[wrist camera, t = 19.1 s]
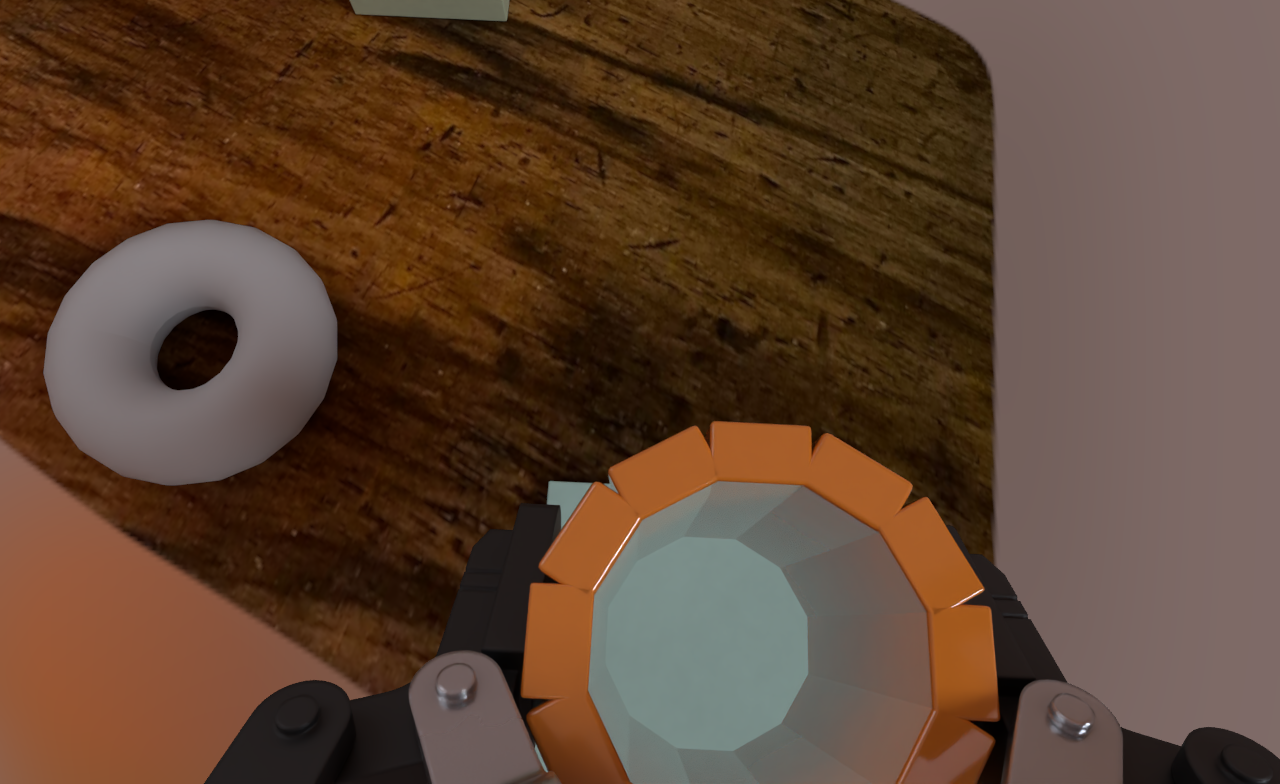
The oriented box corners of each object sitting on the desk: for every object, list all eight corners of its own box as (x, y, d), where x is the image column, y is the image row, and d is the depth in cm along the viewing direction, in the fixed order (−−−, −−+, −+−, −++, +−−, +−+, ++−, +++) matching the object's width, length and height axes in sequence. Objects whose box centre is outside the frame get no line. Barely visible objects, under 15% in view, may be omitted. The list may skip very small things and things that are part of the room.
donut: (373, 452, 28) (329, 219, 31) (340, 432, 25) (293, 172, 28) (98, 524, 28) (76, 278, 30) (26, 513, 24) (8, 238, 27)
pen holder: (842, 507, 18) (978, 432, 11) (850, 802, 17) (1020, 938, 9) (577, 494, 18) (545, 410, 11) (556, 786, 17) (500, 912, 9)
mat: (821, 496, 28) (825, 494, 27) (828, 799, 25) (832, 802, 25) (550, 483, 28) (548, 480, 27) (525, 783, 25) (522, 787, 25)
